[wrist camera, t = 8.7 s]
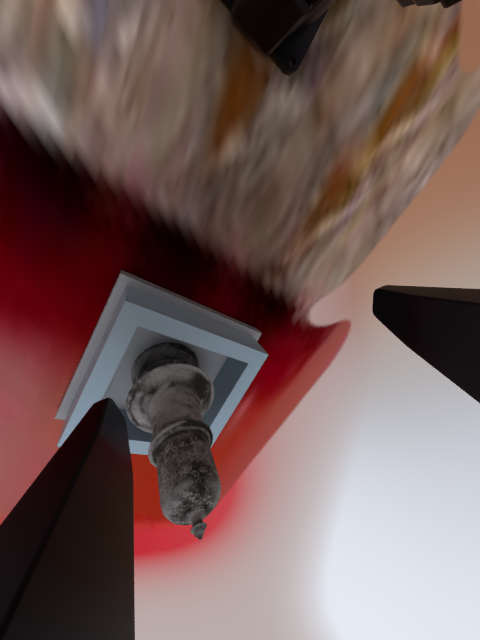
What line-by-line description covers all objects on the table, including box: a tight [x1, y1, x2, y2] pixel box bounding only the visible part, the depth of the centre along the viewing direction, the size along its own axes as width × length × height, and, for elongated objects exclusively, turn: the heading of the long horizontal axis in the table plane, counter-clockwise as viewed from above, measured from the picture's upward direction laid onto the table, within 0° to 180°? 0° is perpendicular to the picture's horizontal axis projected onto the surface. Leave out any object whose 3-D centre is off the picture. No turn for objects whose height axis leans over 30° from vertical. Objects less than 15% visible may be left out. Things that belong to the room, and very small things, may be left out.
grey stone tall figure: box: [126, 342, 221, 540], centre depth 15 cm, size 6×6×12 cm
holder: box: [55, 270, 268, 455], centre depth 20 cm, size 12×12×4 cm
